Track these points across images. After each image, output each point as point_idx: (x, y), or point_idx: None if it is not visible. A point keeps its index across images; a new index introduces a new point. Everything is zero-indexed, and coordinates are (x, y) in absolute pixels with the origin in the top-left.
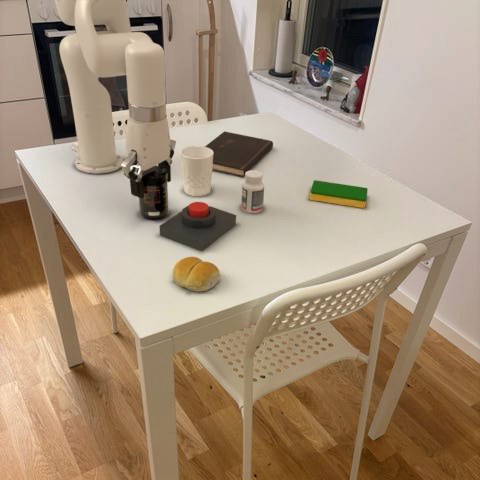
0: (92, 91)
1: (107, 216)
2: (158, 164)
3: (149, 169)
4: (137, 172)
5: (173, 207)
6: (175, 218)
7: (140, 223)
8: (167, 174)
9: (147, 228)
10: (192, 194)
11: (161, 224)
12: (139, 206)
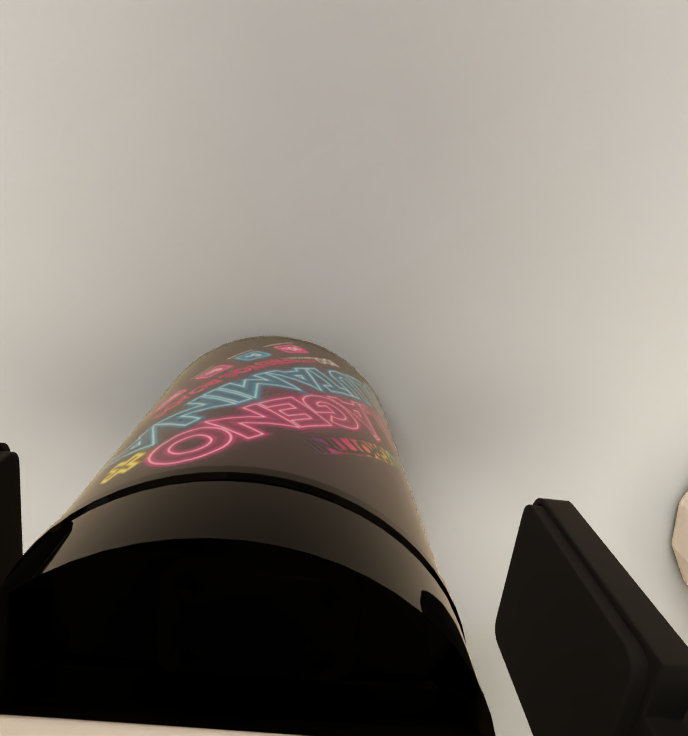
0: None
1: (19, 114)
2: (623, 658)
3: (270, 721)
4: (6, 621)
5: (443, 502)
6: None
7: (94, 425)
8: (528, 702)
9: (64, 506)
10: (678, 540)
11: None
12: (169, 388)
